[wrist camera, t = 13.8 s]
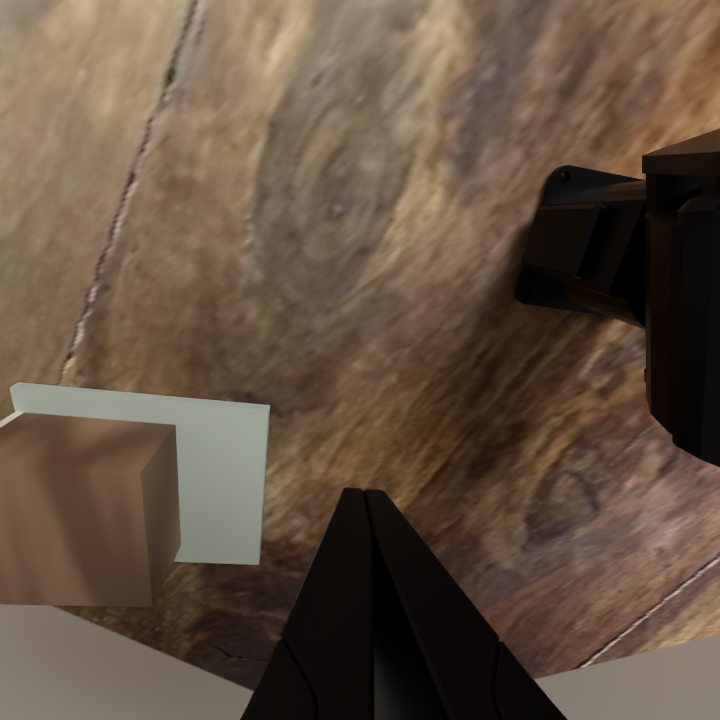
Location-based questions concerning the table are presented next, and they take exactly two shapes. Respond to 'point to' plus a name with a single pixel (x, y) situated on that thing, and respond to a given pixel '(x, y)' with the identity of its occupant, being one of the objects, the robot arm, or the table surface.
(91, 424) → the walnut slab
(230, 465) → the sage mat
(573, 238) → the robot arm
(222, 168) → the table surface
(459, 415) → the table surface
